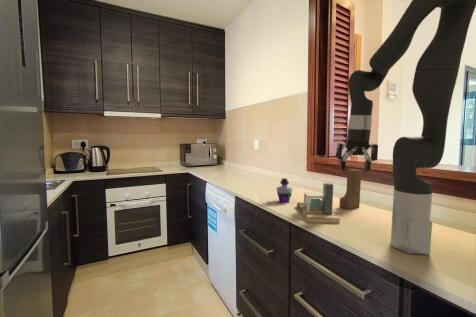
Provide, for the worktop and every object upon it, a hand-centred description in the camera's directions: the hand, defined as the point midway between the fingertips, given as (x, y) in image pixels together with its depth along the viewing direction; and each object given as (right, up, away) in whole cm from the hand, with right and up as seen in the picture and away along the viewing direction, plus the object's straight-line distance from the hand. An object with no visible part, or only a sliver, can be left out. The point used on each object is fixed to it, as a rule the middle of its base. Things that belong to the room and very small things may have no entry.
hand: (354, 170), depth 93 cm
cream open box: (-10, -17, +14) cm, 24 cm away
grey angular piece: (-10, -17, +12) cm, 23 cm away
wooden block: (+9, -19, +25) cm, 32 cm away
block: (-10, -17, +14) cm, 24 cm away
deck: (-10, -19, +13) cm, 26 cm away
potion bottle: (-20, -18, +34) cm, 43 cm away
